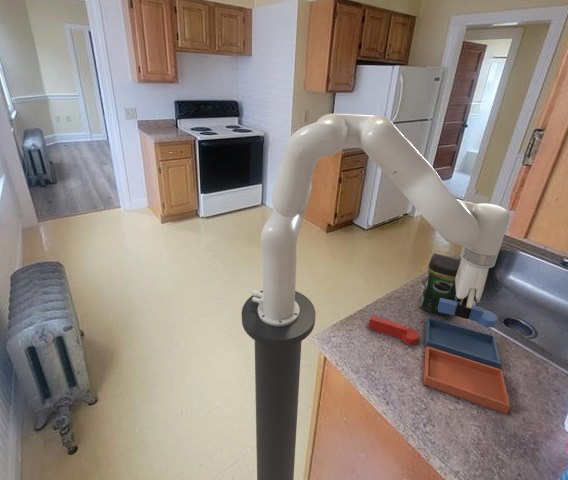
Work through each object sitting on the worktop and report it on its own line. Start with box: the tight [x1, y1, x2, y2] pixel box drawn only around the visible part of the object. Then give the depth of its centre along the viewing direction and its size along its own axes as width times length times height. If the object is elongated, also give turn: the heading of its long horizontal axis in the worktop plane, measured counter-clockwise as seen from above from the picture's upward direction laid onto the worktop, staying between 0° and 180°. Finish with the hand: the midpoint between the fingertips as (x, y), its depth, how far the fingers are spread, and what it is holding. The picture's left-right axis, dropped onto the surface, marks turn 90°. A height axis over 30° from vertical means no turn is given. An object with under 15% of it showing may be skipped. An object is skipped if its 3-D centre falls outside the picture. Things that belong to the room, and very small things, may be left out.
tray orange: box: [423, 346, 511, 415], centre depth 78 cm, size 17×10×2 cm, turn 66°
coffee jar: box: [420, 252, 462, 318], centre depth 98 cm, size 10×8×19 cm
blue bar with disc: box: [438, 298, 498, 329], centre depth 84 cm, size 13×4×3 cm, turn 66°
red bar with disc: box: [368, 315, 420, 346], centre depth 91 cm, size 13×4×3 cm, turn 66°
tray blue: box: [424, 316, 502, 369], centre depth 88 cm, size 17×10×2 cm, turn 66°
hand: (461, 313), depth 85 cm, fingers closed on blue bar with disc
